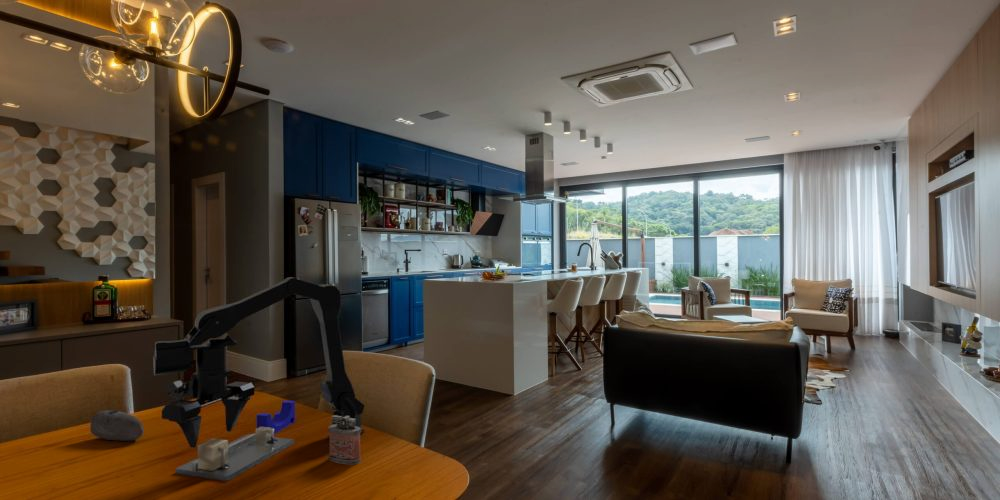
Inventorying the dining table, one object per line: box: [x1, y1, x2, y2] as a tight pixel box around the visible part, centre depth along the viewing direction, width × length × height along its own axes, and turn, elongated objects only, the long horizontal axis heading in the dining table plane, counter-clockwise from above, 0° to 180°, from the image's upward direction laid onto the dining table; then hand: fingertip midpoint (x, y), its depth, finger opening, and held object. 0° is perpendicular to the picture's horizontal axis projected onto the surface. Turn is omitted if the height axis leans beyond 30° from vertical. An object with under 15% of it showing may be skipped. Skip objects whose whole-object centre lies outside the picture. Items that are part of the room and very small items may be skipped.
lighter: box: [328, 414, 362, 465], centre depth 107 cm, size 8×3×10 cm, turn 71°
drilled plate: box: [175, 427, 295, 482], centre depth 109 cm, size 14×20×4 cm
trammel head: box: [197, 438, 229, 471], centre depth 102 cm, size 5×4×5 cm
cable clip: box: [256, 400, 296, 435], centre depth 127 cm, size 12×4×6 cm, turn 170°
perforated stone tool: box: [89, 409, 145, 442], centre depth 121 cm, size 15×5×7 cm, turn 74°
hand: (211, 438), depth 102 cm, fingers open, 9 cm apart
